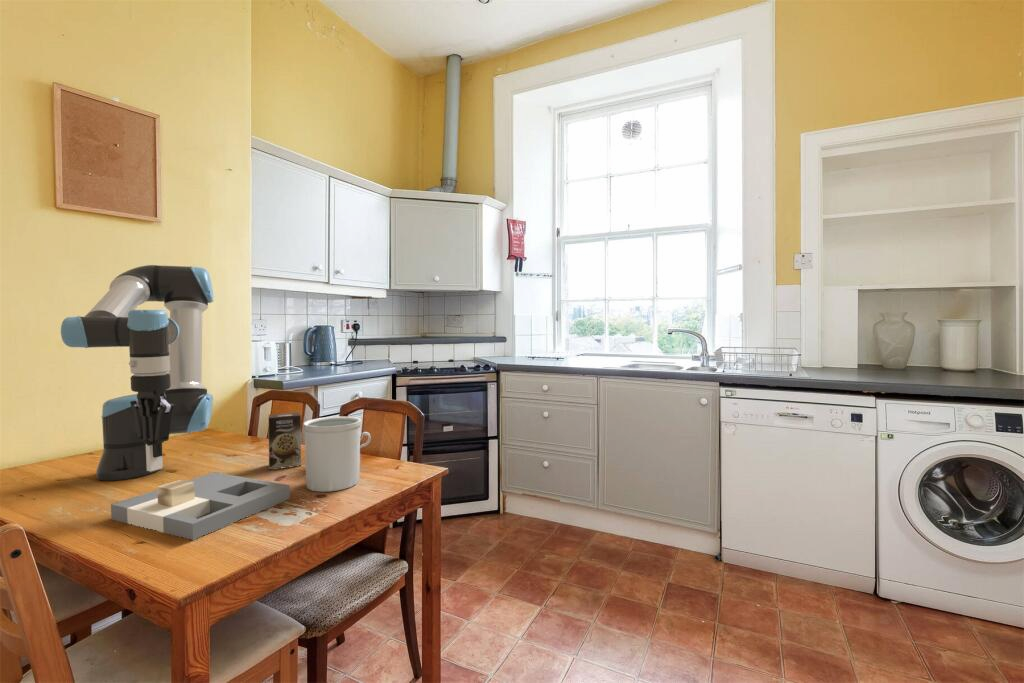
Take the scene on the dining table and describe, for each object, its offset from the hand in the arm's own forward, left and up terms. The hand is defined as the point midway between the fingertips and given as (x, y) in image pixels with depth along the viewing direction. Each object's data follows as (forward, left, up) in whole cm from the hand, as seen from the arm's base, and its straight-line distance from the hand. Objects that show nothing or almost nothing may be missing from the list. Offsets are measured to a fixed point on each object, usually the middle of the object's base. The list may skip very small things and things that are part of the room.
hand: (154, 469), depth 111 cm
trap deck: (+13, +3, -9) cm, 16 cm away
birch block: (+12, -2, -5) cm, 13 cm away
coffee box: (+3, +35, -9) cm, 36 cm away
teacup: (+20, +43, -9) cm, 49 cm away
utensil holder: (+29, +28, -9) cm, 42 cm away
